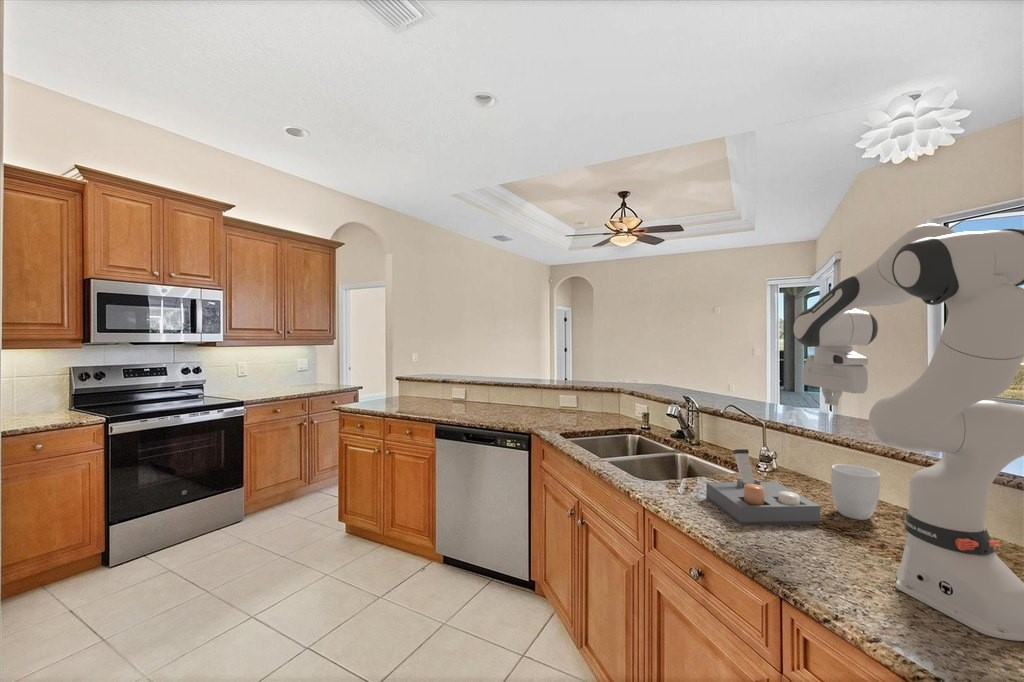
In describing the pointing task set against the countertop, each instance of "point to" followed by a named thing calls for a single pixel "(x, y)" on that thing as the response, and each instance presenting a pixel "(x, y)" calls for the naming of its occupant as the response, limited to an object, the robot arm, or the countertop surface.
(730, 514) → the console
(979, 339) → the robot arm
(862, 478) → the mug
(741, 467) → the lever
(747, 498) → the terracotta button
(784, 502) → the white button
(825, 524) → the countertop surface
